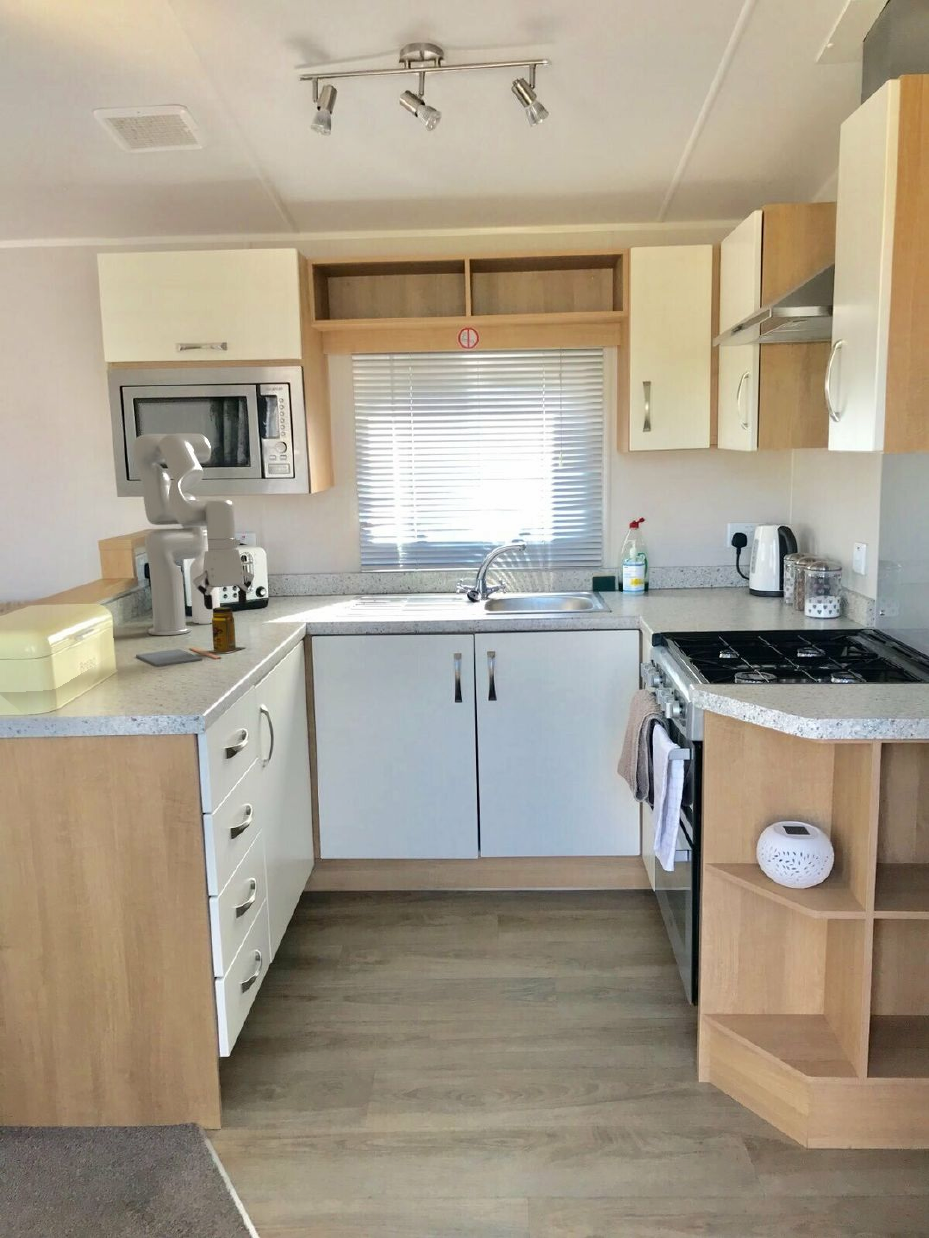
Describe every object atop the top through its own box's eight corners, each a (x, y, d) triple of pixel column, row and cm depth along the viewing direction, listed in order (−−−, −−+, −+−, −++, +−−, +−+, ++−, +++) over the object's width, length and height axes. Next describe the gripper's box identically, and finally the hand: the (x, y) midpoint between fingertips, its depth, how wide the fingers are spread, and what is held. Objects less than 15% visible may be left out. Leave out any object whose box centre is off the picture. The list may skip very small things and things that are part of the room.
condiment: (206, 651, 264) (204, 609, 262) (226, 646, 272) (224, 604, 270) (228, 653, 261) (225, 610, 259) (247, 648, 269) (245, 605, 267)
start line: (189, 649, 268) (189, 647, 268) (194, 648, 269) (194, 647, 269) (215, 659, 254) (215, 657, 254) (220, 658, 255) (220, 656, 255)
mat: (136, 656, 258) (136, 654, 258) (179, 651, 265) (179, 649, 265) (157, 666, 246) (157, 664, 245) (202, 660, 253) (201, 658, 253)
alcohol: (210, 625, 307) (205, 531, 302) (187, 623, 310) (181, 531, 305) (226, 620, 315) (221, 529, 310) (203, 619, 318) (197, 529, 313)
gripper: (245, 542, 270) (249, 603, 272) (186, 546, 259) (190, 609, 262) (257, 543, 264) (260, 605, 266) (196, 547, 253) (201, 611, 256)
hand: (225, 607), depth 264 cm, fingers open, 9 cm apart
